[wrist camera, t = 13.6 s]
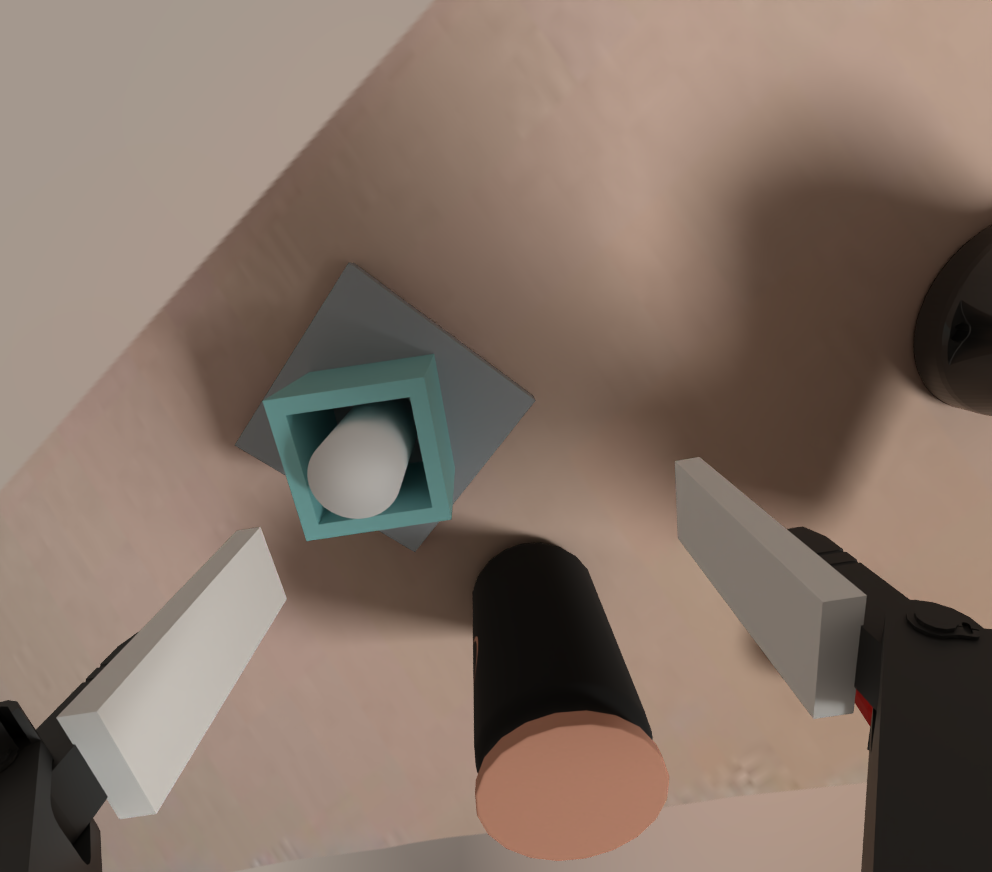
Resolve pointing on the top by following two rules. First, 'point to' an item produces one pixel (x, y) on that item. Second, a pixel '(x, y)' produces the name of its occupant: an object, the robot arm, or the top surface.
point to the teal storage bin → (310, 419)
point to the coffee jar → (556, 713)
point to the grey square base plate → (389, 403)
